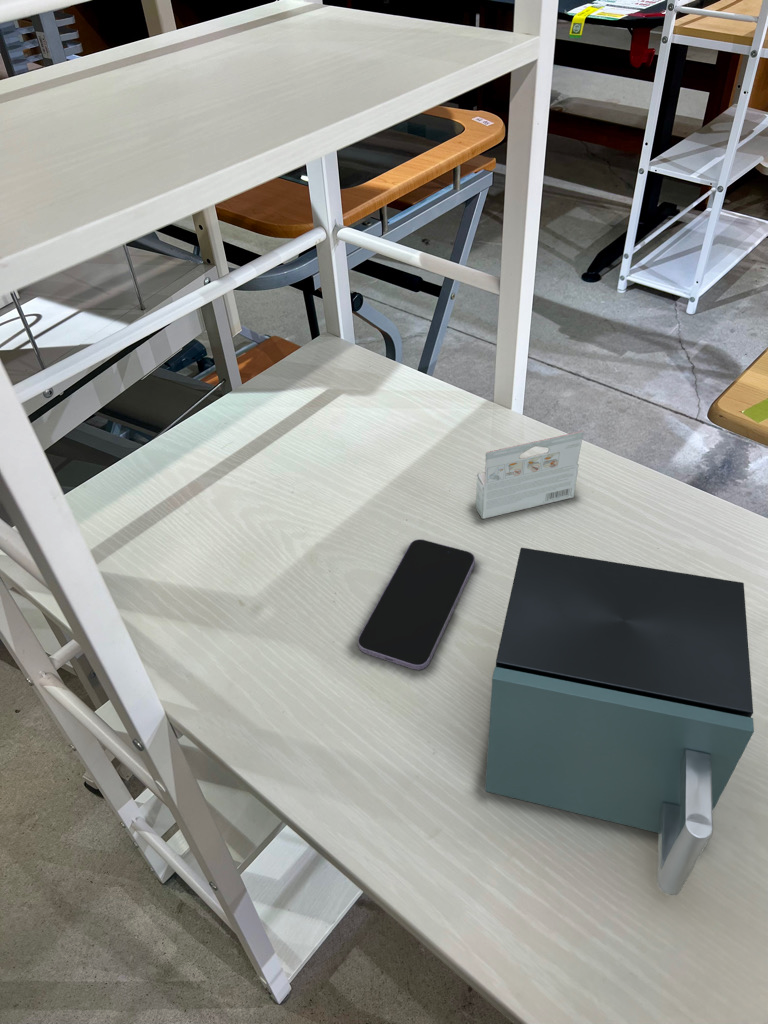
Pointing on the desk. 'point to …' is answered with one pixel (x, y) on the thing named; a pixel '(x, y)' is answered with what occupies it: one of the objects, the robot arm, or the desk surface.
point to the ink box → (528, 476)
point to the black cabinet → (629, 630)
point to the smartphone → (417, 604)
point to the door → (615, 759)
